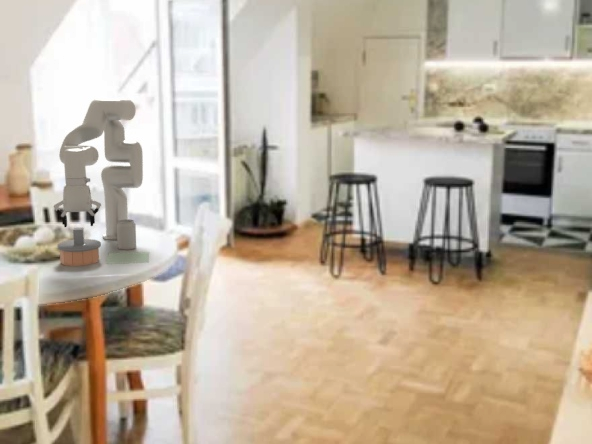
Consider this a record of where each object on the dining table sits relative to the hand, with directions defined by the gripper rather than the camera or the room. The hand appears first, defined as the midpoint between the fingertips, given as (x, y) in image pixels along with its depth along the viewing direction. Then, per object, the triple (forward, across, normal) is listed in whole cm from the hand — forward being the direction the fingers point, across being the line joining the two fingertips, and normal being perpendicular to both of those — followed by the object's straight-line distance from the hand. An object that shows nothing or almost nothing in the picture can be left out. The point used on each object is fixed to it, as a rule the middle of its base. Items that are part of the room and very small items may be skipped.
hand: (78, 225), depth 279 cm
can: (+15, -17, -17) cm, 28 cm away
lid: (+8, 0, +1) cm, 8 cm away
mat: (+14, -18, -1) cm, 23 cm away
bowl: (+14, 0, +1) cm, 14 cm away
